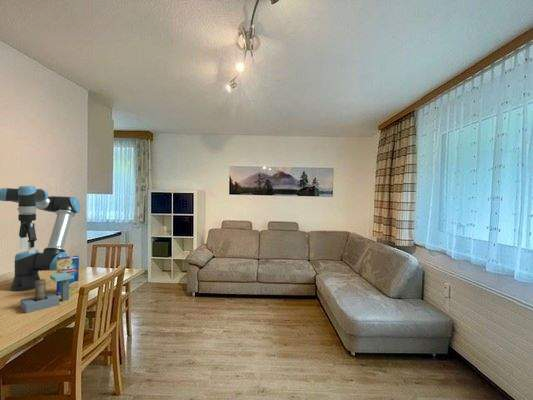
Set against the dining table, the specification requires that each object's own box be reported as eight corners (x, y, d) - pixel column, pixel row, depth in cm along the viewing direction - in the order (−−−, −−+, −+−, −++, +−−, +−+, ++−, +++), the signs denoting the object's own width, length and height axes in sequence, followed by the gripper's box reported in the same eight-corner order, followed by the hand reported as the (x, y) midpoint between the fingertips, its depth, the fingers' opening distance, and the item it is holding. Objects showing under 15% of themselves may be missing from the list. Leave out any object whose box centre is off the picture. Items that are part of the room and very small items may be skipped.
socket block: (20, 306, 148) (20, 299, 148) (52, 299, 159) (52, 292, 159) (26, 313, 141) (26, 305, 141) (59, 304, 152) (59, 297, 152)
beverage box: (78, 292, 171) (79, 257, 171) (56, 296, 165) (56, 259, 164) (77, 289, 177) (78, 255, 176) (56, 292, 170) (57, 257, 170)
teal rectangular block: (49, 300, 157) (50, 274, 157) (65, 297, 163) (65, 272, 163) (54, 305, 152) (55, 278, 152) (70, 301, 158) (71, 275, 158)
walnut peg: (33, 305, 150) (33, 280, 150) (43, 303, 153) (44, 278, 153) (35, 308, 147) (36, 282, 147) (46, 305, 151) (46, 280, 150)
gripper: (11, 211, 158) (11, 248, 159) (26, 216, 144) (26, 256, 145) (28, 211, 164) (28, 246, 165) (43, 215, 150) (44, 253, 151)
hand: (27, 250), depth 155 cm, fingers open, 13 cm apart
